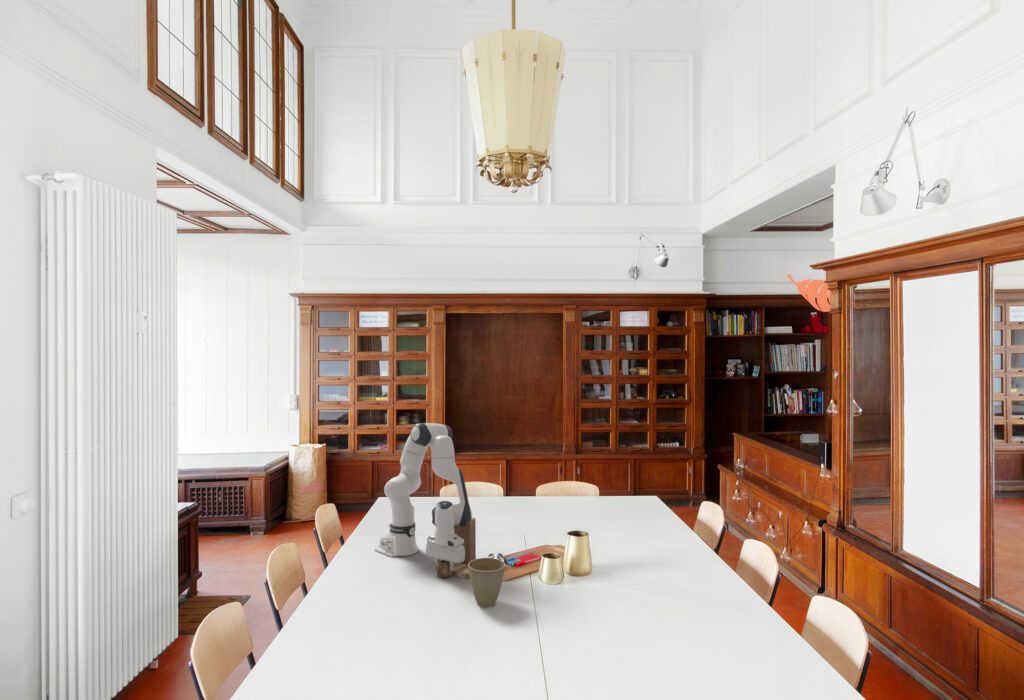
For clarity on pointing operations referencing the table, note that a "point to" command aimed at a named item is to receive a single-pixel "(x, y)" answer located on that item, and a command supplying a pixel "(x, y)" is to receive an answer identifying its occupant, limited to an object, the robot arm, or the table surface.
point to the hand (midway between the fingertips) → (445, 569)
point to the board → (460, 570)
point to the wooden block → (468, 540)
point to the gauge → (443, 568)
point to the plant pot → (486, 580)
